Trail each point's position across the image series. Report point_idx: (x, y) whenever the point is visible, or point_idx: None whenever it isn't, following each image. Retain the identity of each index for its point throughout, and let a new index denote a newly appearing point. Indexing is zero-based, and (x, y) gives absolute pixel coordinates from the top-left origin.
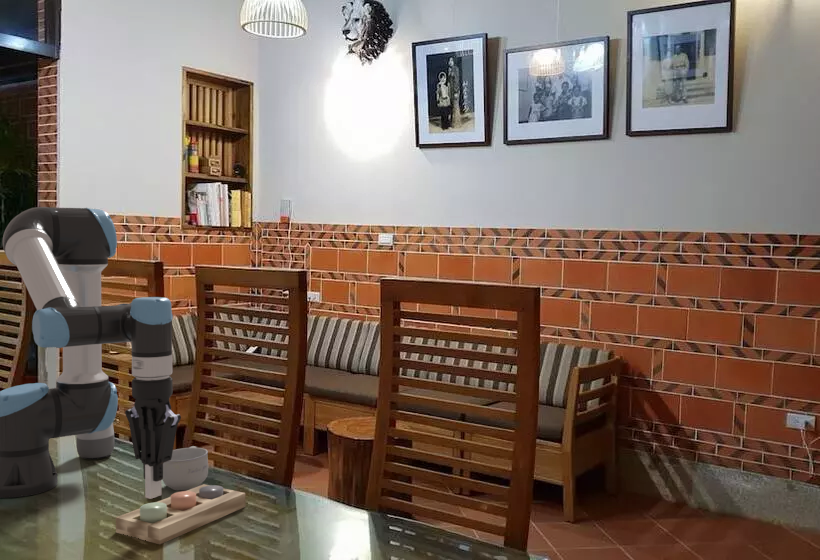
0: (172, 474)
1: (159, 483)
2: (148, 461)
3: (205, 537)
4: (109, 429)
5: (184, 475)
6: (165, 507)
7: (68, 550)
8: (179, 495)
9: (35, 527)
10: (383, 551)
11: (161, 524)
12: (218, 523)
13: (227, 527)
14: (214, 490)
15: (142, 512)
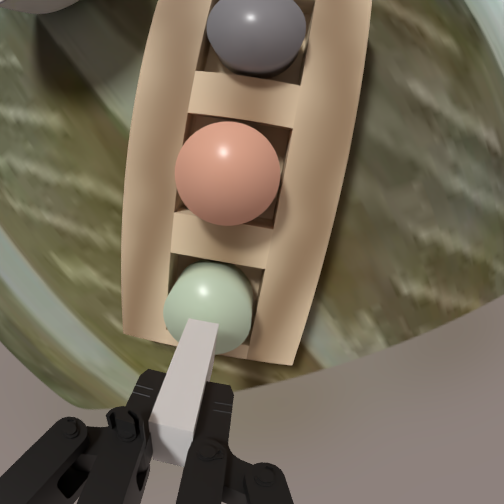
0: (44, 1)
1: (210, 364)
2: (150, 458)
3: (376, 268)
4: None
5: None
6: (250, 313)
7: None
8: (213, 185)
9: (10, 322)
10: None
11: (277, 343)
12: (361, 164)
13: (400, 186)
14: (280, 34)
15: None
